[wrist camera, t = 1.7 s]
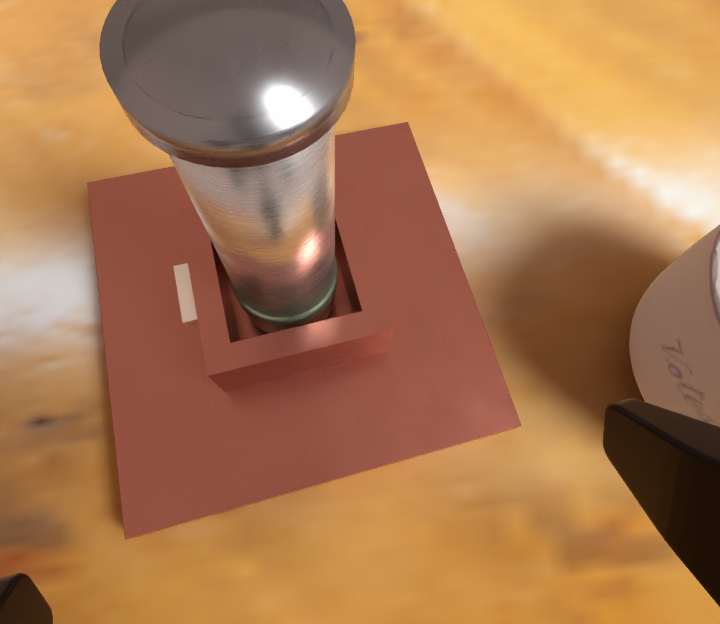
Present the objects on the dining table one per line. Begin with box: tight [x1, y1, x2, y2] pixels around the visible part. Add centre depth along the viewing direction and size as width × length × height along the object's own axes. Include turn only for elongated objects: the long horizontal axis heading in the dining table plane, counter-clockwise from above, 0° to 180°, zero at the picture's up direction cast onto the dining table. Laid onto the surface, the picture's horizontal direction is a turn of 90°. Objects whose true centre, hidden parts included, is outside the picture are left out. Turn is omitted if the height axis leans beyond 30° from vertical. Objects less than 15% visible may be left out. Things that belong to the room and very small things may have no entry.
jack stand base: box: [87, 122, 521, 539], centre depth 21 cm, size 16×16×4 cm
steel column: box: [100, 0, 355, 333], centre depth 16 cm, size 5×5×13 cm
